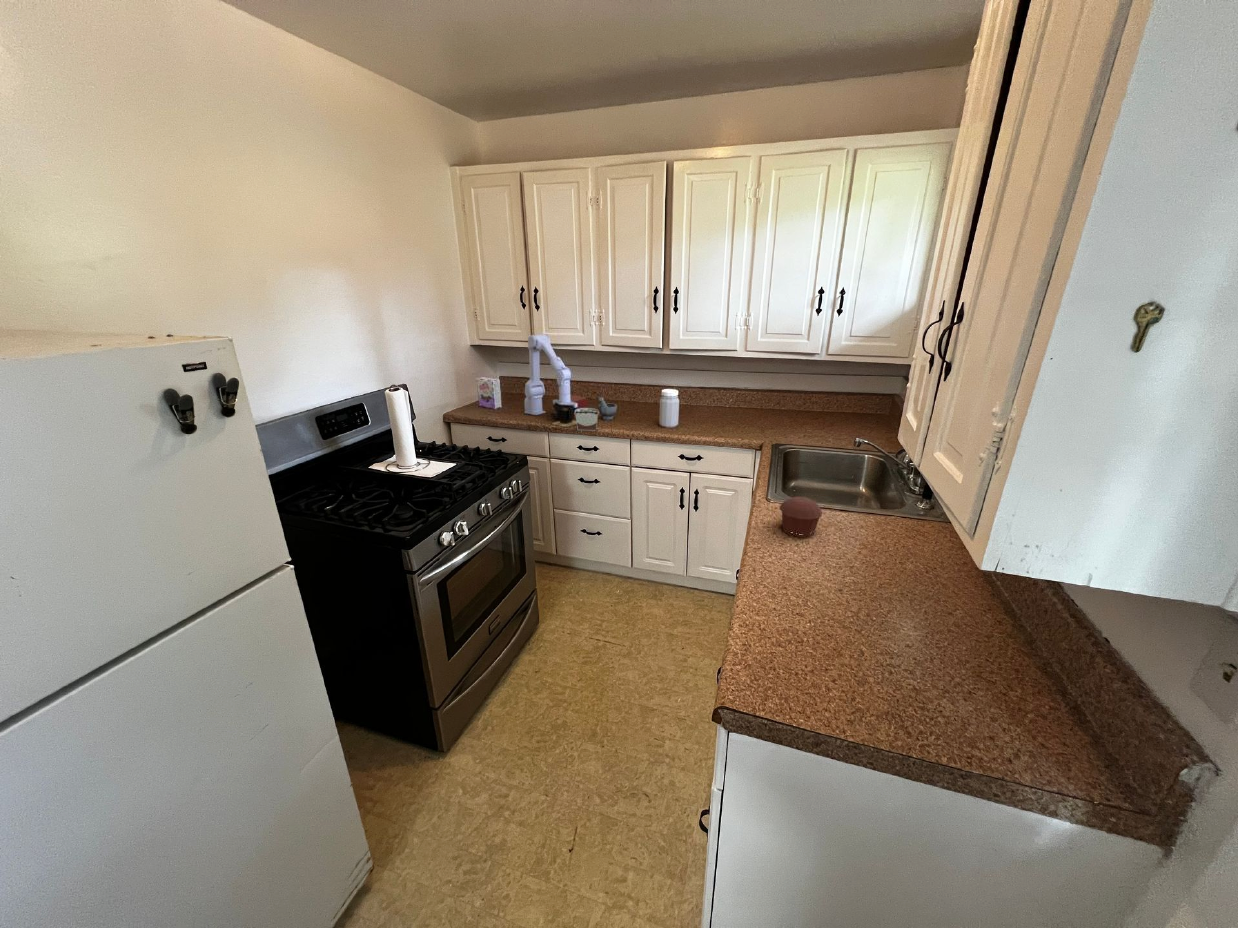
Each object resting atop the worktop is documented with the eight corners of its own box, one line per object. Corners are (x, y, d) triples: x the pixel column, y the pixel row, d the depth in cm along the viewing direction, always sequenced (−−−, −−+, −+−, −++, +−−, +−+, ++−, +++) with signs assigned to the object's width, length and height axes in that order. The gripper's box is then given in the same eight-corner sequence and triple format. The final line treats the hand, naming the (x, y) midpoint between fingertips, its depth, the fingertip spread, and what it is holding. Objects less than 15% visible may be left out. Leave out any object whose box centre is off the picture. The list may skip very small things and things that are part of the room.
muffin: (815, 523, 146) (820, 493, 142) (821, 541, 135) (827, 510, 132) (775, 519, 148) (779, 490, 144) (778, 537, 138) (782, 505, 134)
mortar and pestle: (607, 414, 263) (607, 393, 259) (620, 417, 257) (620, 395, 253) (593, 418, 255) (592, 396, 251) (606, 422, 249) (605, 399, 245)
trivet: (552, 424, 245) (552, 423, 245) (564, 419, 253) (564, 418, 253) (567, 427, 240) (567, 426, 240) (579, 422, 248) (579, 421, 248)
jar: (675, 422, 249) (676, 388, 242) (680, 427, 240) (682, 392, 233) (656, 423, 247) (657, 388, 241) (661, 428, 238) (662, 393, 232)
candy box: (478, 406, 281) (475, 378, 275) (486, 404, 285) (483, 376, 279) (494, 409, 273) (491, 380, 267) (502, 407, 278) (499, 379, 272)
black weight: (559, 422, 246) (559, 409, 243) (565, 420, 249) (564, 407, 247) (566, 424, 244) (565, 410, 241) (571, 422, 247) (571, 408, 245)
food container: (601, 427, 241) (600, 407, 237) (599, 430, 235) (599, 411, 231) (576, 426, 242) (576, 407, 238) (574, 430, 236) (574, 410, 232)
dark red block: (558, 415, 261) (557, 399, 258) (571, 410, 271) (571, 395, 268) (574, 418, 256) (573, 401, 253) (587, 413, 265) (587, 397, 262)
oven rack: (548, 417, 253) (548, 412, 252) (564, 412, 263) (563, 407, 262) (561, 420, 249) (561, 415, 248) (576, 414, 259) (576, 409, 258)
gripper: (548, 392, 242) (549, 418, 246) (570, 396, 234) (571, 423, 239) (557, 390, 247) (558, 415, 252) (579, 393, 240) (580, 419, 245)
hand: (565, 419), depth 246 cm, fingers open, 7 cm apart
